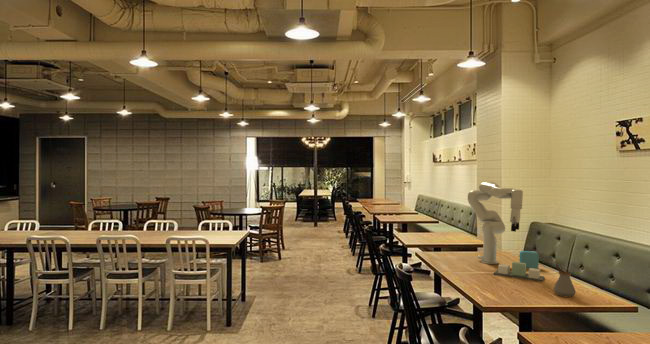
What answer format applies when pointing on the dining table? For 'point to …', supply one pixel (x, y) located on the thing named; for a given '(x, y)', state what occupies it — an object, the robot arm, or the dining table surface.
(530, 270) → the mounted modules
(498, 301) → the dining table surface
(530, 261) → the data package
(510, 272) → the rail plate
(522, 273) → the module block
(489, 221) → the robot arm
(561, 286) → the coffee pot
